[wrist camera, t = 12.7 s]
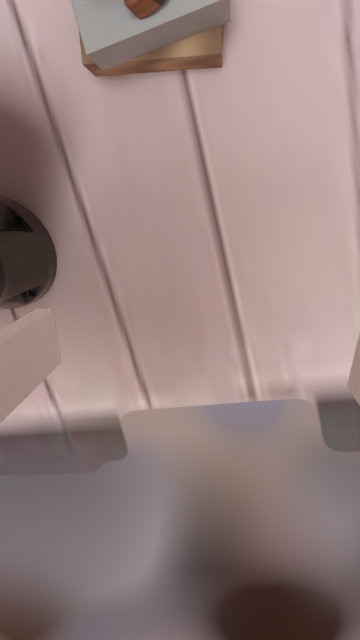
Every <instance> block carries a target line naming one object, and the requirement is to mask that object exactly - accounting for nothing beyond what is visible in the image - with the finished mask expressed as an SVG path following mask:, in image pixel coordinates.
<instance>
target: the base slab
mask: <svg viewBox="0 0 360 640" xmlns="http://www.w3.org/2000/svg"><path fill="white" fill-rule="evenodd" d="M79 34H80V31H79ZM222 43H223V24H222V25H219V26H217V27H214V28H211V29H209V30H206V31H204V32H201V33H199V34H196V35H193V36H191V37H188V38H186V39H183V40H181V41H178V42H175V43H173V44H170V45H168V46H165V47H163V48H160V49H157V50H155V51H152V52H150V53H147V54H145V55H142V56H139V57H137V58H134V59H132V60H129V61H127V62H124V63H121V64H119V65H116V66H114V67H111V68H109V69H106V70H104V71H103V70H102V69H101V68H100V67H99V66H98V65H97V64H95V63H94V62H93V61H92V60H91V59H90V58H89V57H88V56H87V55H86V51H85V48H84V44H83V41H82V37H81V34H80V44H81V53H82V63H83V65H84V66H85V67H86V68H87V69H88V70H90V71H91V72H92V73H93V74H94V75H95V76H104V75H118V74H132V73H146V72H160V71H174V70H188V69H203V68H217V67H222Z"/></svg>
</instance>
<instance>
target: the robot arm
mask: <svg viewBox="0 0 360 640" xmlns="http://www.w3.org/2000/svg"><path fill="white" fill-rule="evenodd" d="M55 273H56V255H55V250H54V246H53V243H52V241H51V238H50V236H49V234H48V232H47V231H46V229H45V227H44V226H43V225H42V223H41V222H40V221H39V220H38V218H37V217H36V216H35V215H34V214H33V213H31V212H30V211H29V210H28V209H26V208H25V207H23V206H22V205H20V204H18V203H16V202H14V201H11V200H8V199H5V198H0V309H13V308H19V307H23V306H26V305H28V304H30V303H32V302H34V301H36V300H37V299H39V298H41V297H42V296H43V295H44V294H45V293H46V292H47V291H48V290H49V288H50V287H51V285H52V283H53V280H54V277H55ZM60 363H61V357H60V351H59V345H58V339H57V333H56V327H55V321H54V315H53V309H44V308H36V309H35V310H33V311H31V312H30V313H28V314H26V315H25V316H23V317H21V318H20V319H18V320H16V321H15V322H13V323H11V324H10V325H8V326H6V327H5V328H3V329H1V330H0V423H1V422H2V421H3V420H4V419H5V418H6V417H7V416H8V415H9V414H10V413H11V412H12V411H13V410H14V409H15V408H16V407H17V406H18V405H19V404H20V403H21V402H22V401H23V400H24V399H25V398H26V397H27V396H28V395H29V394H30V393H31V392H32V391H33V390H34V389H35V388H36V387H37V386H38V385H39V384H40V383H41V382H42V381H43V380H44V379H45V378H46V377H47V376H48V375H49V374H50V373H51V372H52V371H53V370H54V369H55V368H56V367H57V366H58V365H59V364H60ZM347 385H348V387H349V389H350V390H351V392H352V394H353V395H354V397H355V398H356V400H357V402H358V403H359V405H360V334H359V338H358V343H357V347H356V351H355V355H354V359H353V363H352V367H351V372H350V376H349V380H348V384H347Z"/></svg>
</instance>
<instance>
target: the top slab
mask: <svg viewBox="0 0 360 640" xmlns="http://www.w3.org/2000/svg"><path fill="white" fill-rule="evenodd" d="M71 3H72V6H73V10H74V13H75V17H76V20H77V24H78V27H79V31H80V34H81V37H82V41H83V44H84V48H85V51H86V55H87V56H88V57H89V58H90V59H91V60H92V61H93V62H94V63H95V64H97V65H98V66H99V67H100V68H101V69H102V70H103V71H104V70H106V69H109V68H111V67H114V66H116V65H119V64H121V63H124V62H127V61H129V60H132V59H134V58H137V57H139V56H142V55H145V54H147V53H150V52H152V51H155V50H157V49H160V48H163V47H165V46H168V45H170V44H173V43H175V42H178V41H181V40H183V39H186V38H188V37H191V36H193V35H196V34H199V33H201V32H204V31H206V30H209V29H211V28H214V27H217V26H219V25H222V24H224V23H227V22H229V21H230V0H165V2H164V3H163V4H162V5H160V6H159V8H158V9H156V10H155V11H154V12H153V13H151V14H150V15H148V16H147V17H144V18H142V19H139V18H138V17H137V16H136V15H135V14H134V13H133V12H132V11H131V10H130V9H128V8H127V7H126V5H125V4H124V0H71Z"/></svg>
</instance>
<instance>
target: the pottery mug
mask: <svg viewBox="0 0 360 640" xmlns="http://www.w3.org/2000/svg"><path fill="white" fill-rule="evenodd" d="M164 2H165V0H124V4H125V5H126V7H127V8H128V9H130V10H131V11H132V12H133V13H134V14H135V15H136V16H137V17H138V18H139V19H142V18H144V17H147V16H148V15H150V14H151V13H153V12H154V11H155V10H156V9H158V8H159V6H160V5H162V4H163V3H164Z"/></svg>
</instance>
